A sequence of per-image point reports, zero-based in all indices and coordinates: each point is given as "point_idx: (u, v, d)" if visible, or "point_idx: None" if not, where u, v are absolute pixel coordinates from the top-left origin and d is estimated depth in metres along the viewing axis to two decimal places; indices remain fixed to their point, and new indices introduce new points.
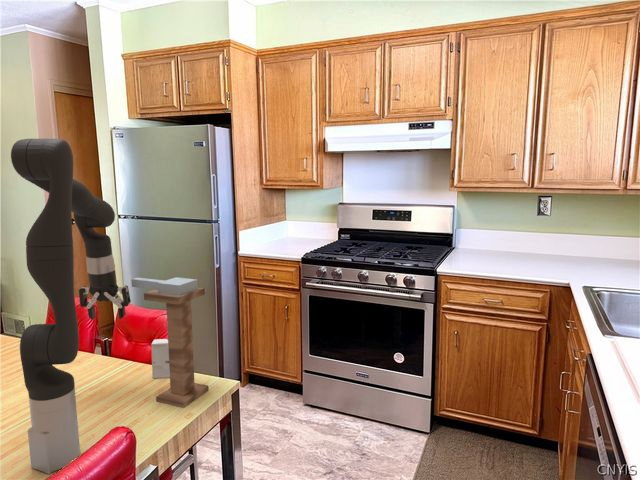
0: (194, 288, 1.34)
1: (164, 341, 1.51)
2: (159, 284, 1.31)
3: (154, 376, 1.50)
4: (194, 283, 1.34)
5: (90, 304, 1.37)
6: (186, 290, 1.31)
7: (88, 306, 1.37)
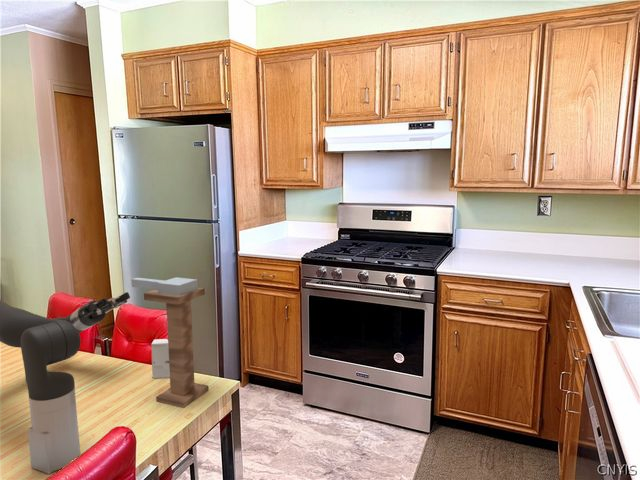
0: (194, 288, 1.34)
1: (164, 341, 1.51)
2: (159, 284, 1.31)
3: (154, 376, 1.50)
4: (194, 283, 1.34)
5: (119, 304, 1.50)
6: (186, 290, 1.31)
7: (122, 303, 1.50)
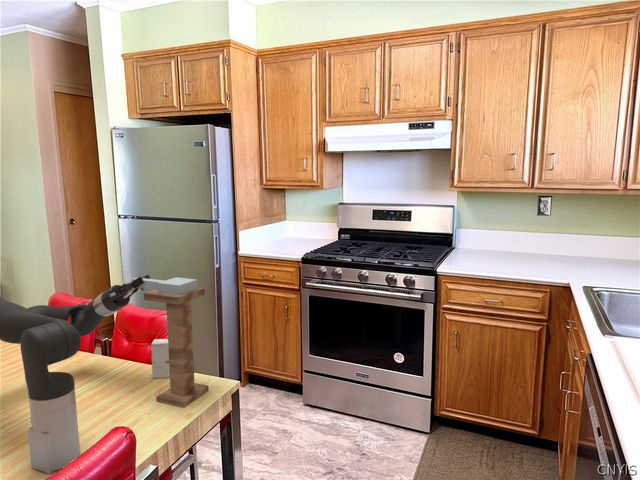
0: (194, 288, 1.34)
1: (164, 341, 1.51)
2: (159, 284, 1.31)
3: (154, 376, 1.50)
4: (194, 283, 1.34)
5: (140, 288, 1.42)
6: (186, 290, 1.31)
7: None
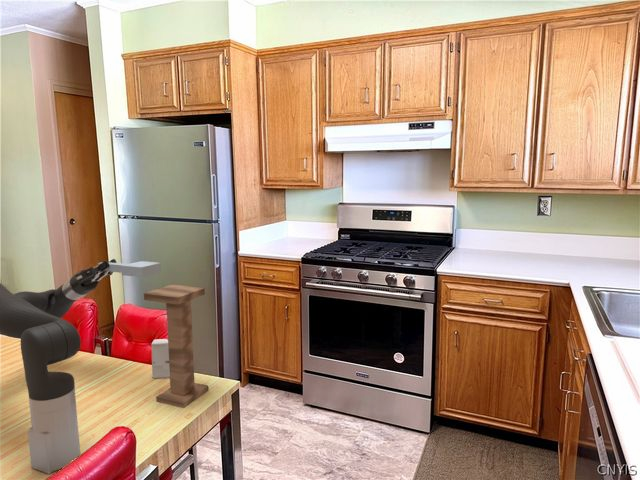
0: (157, 271, 1.40)
1: (164, 341, 1.51)
2: (123, 267, 1.36)
3: (154, 376, 1.50)
4: (157, 265, 1.40)
5: (107, 272, 1.47)
6: (148, 272, 1.36)
7: None
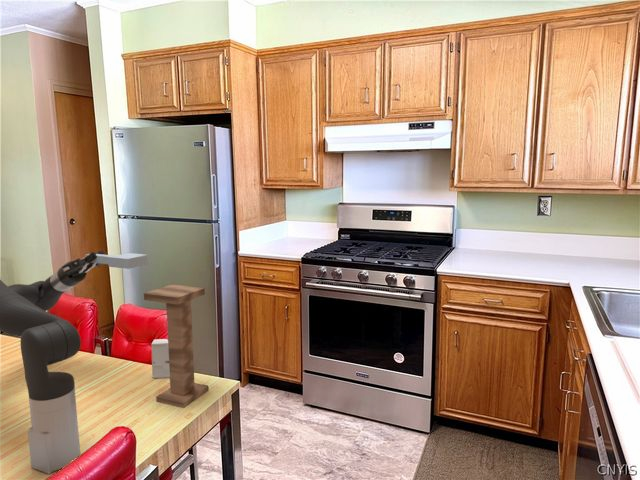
0: (144, 263, 1.39)
1: (164, 341, 1.51)
2: (109, 258, 1.36)
3: (154, 376, 1.50)
4: (144, 257, 1.39)
5: (95, 263, 1.47)
6: (135, 264, 1.36)
7: None
